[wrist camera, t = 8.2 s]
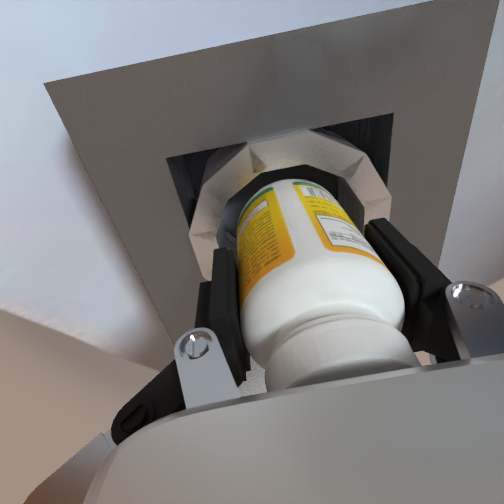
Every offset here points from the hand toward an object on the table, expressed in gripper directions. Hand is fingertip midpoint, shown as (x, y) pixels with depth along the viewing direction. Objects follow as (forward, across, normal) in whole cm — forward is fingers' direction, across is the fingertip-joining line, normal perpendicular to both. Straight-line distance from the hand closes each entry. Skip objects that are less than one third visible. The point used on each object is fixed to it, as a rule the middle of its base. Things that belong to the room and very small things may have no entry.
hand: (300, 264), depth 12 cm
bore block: (+6, 0, 0) cm, 6 cm away
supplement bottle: (+4, 0, 0) cm, 4 cm away
